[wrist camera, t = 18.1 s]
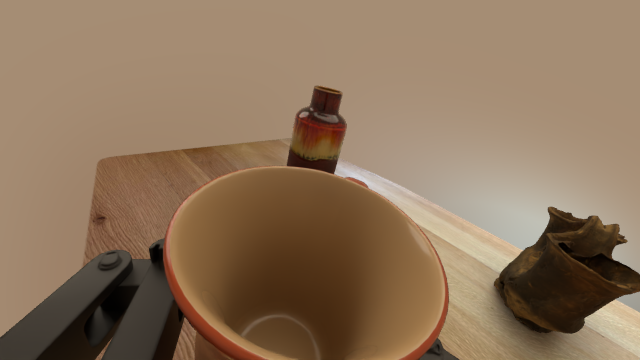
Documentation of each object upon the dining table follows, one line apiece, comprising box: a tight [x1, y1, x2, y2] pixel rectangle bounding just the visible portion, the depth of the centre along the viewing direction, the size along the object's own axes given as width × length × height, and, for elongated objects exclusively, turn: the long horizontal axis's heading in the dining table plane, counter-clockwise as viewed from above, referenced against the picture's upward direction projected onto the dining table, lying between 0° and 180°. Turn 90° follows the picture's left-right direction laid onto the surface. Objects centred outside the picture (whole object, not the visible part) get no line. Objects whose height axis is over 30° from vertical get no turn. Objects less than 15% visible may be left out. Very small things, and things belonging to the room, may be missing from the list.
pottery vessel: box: [494, 207, 640, 334], centre depth 38 cm, size 25×11×20 cm, turn 133°
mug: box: [163, 166, 449, 360], centre depth 12 cm, size 12×9×10 cm
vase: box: [287, 86, 347, 174], centre depth 52 cm, size 11×11×26 cm
